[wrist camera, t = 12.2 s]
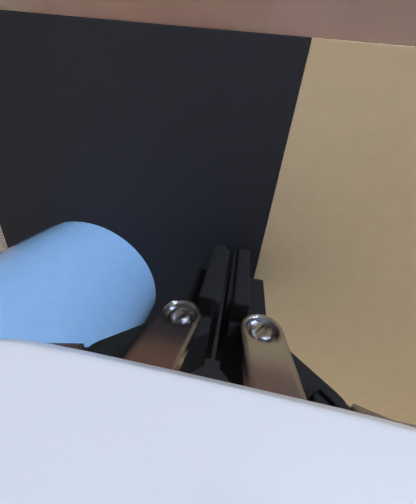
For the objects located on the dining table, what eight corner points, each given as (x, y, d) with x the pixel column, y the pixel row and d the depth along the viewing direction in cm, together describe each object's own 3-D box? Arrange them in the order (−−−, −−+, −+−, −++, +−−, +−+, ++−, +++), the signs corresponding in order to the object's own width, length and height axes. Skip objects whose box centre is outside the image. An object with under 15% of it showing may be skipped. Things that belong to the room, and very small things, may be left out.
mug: (9, 238, 13) (-225, 344, 7) (120, 204, 11) (-61, 309, 5) (99, 366, 18) (8, 508, 11) (192, 358, 16) (148, 527, 9)
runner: (1120, 111, 6) (1145, 111, 6) (554, 452, 15) (557, 456, 14) (-66, 5, 9) (-72, 3, 9) (40, 339, 18) (38, 341, 17)
